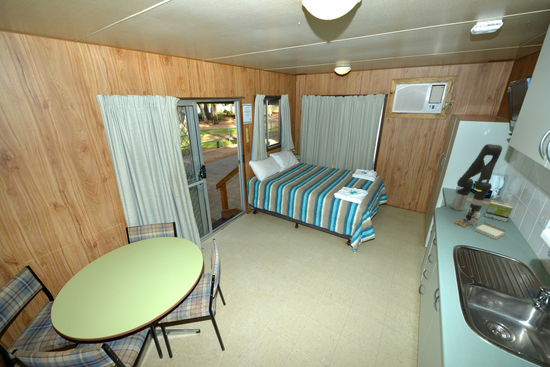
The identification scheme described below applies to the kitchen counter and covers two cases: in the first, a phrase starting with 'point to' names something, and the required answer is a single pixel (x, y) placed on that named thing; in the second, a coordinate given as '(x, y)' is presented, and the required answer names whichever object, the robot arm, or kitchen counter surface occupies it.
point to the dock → (490, 230)
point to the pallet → (461, 223)
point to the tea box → (498, 210)
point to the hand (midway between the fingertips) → (471, 219)
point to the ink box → (472, 218)
